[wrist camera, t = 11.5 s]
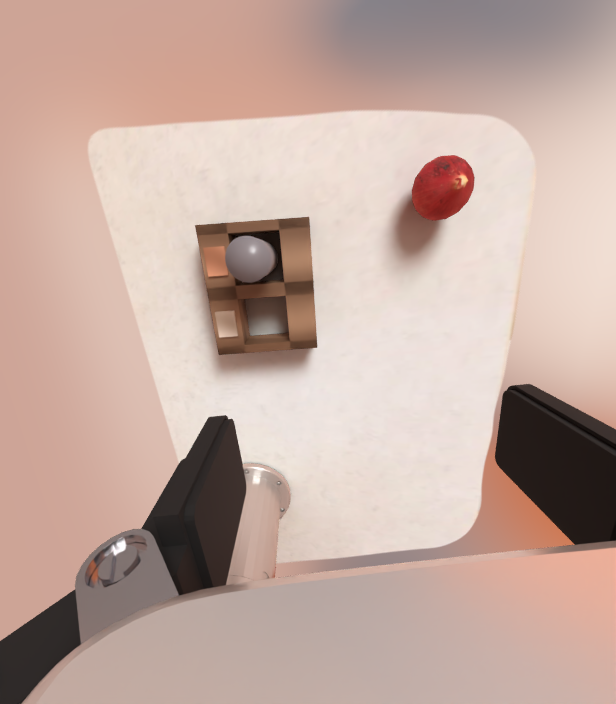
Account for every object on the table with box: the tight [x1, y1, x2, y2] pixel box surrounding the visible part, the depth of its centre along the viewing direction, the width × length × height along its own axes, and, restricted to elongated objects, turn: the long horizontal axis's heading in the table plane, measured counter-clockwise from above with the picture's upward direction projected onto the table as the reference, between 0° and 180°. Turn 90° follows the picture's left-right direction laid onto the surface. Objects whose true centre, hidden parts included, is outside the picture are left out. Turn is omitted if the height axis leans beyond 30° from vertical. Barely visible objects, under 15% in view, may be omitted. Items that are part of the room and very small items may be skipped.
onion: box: [412, 155, 474, 220], centre depth 29 cm, size 6×6×8 cm
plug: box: [225, 236, 278, 283], centre depth 30 cm, size 4×4×10 cm
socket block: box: [195, 217, 317, 355], centre depth 34 cm, size 14×12×4 cm
